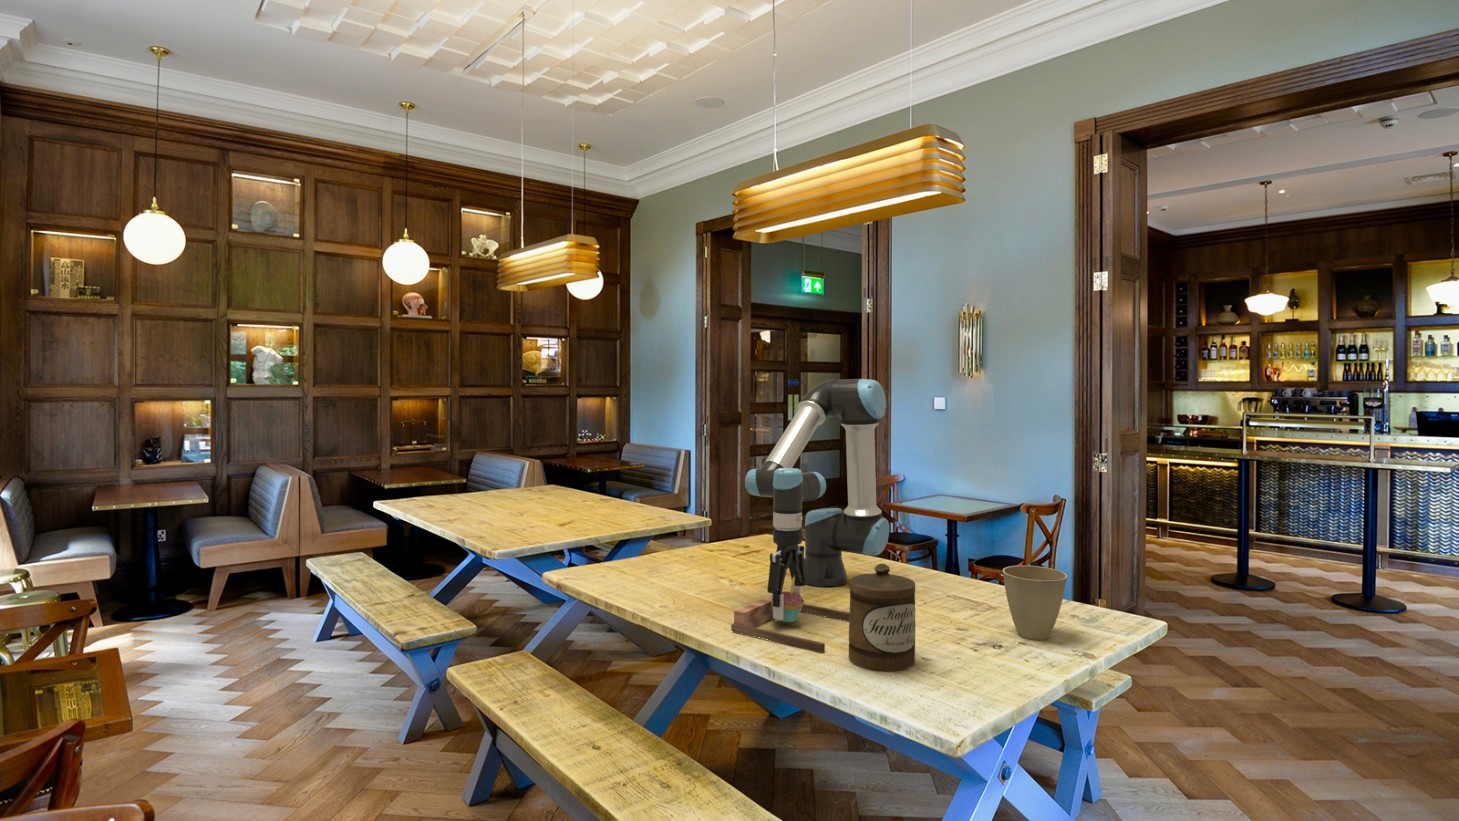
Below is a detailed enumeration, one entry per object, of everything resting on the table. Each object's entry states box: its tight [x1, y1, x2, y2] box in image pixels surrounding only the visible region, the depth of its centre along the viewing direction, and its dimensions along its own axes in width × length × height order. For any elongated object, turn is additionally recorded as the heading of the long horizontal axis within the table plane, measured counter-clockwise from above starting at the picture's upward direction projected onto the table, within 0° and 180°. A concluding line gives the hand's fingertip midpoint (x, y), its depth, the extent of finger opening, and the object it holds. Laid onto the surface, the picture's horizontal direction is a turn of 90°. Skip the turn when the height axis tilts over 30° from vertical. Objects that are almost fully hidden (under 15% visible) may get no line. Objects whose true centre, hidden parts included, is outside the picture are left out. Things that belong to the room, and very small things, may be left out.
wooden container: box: [848, 563, 916, 672], centre depth 171 cm, size 15×15×22 cm
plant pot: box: [1002, 565, 1068, 641], centre depth 189 cm, size 15×15×16 cm
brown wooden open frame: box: [730, 590, 850, 654], centre depth 194 cm, size 26×26×5 cm
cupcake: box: [771, 575, 805, 623], centre depth 197 cm, size 9×8×12 cm
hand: (787, 614), depth 197 cm, fingers closed on cupcake, 8 cm apart
